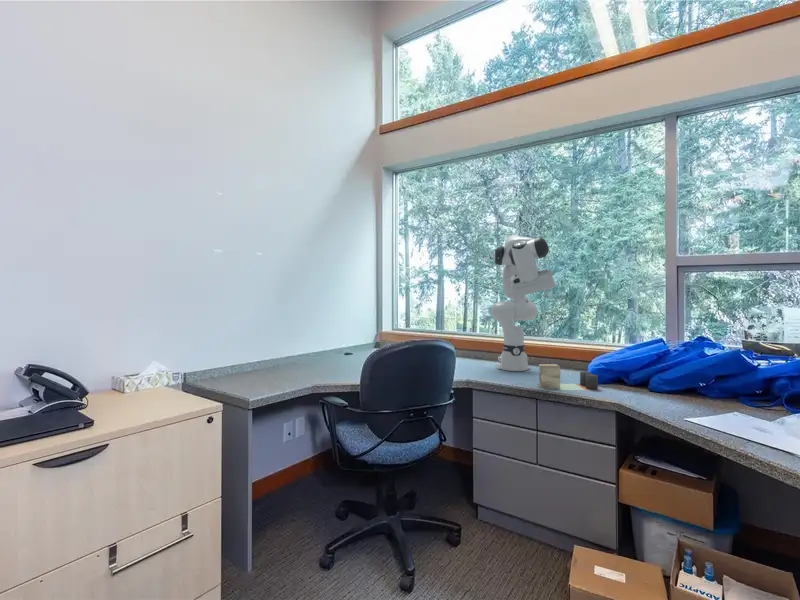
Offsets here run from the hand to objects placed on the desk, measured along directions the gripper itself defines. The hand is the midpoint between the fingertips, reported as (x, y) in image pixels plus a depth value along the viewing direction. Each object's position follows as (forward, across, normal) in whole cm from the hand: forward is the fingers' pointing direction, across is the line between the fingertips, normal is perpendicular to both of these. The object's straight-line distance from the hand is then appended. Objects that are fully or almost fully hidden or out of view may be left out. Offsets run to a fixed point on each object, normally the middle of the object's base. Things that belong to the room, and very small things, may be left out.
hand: (536, 299), depth 194 cm
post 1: (+41, -10, +17) cm, 46 cm away
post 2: (+40, -12, +23) cm, 47 cm away
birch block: (+34, +5, +24) cm, 42 cm away
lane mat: (+37, -3, +22) cm, 43 cm away
